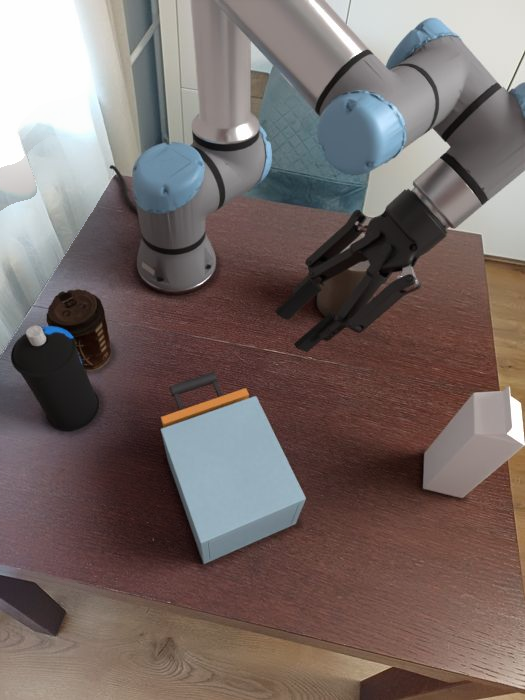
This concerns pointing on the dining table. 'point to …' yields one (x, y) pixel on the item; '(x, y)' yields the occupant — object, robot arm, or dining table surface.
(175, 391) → the orange drawer
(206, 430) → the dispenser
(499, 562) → the dining table surface
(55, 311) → the coffee cup
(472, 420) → the milk
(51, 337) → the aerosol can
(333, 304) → the pillar candle
